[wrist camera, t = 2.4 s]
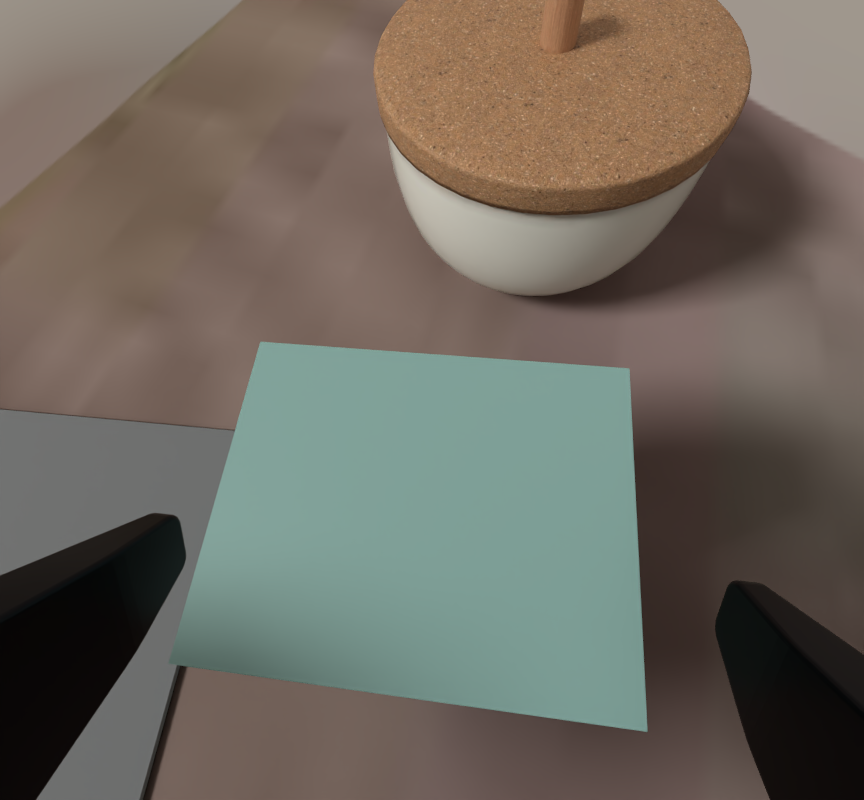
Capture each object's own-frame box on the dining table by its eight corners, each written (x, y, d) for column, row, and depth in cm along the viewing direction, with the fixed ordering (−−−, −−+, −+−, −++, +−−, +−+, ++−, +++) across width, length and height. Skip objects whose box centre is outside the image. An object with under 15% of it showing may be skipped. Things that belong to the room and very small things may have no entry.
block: (522, 648, 15) (648, 731, 5) (361, 627, 15) (167, 664, 5) (526, 516, 16) (629, 368, 6) (381, 501, 17) (260, 342, 7)
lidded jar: (354, 275, 21) (277, 40, 12) (478, 121, 24) (487, -150, 16) (587, 390, 18) (699, 192, 10) (691, 199, 21) (845, -77, 13)
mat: (131, 839, 14) (127, 842, 13) (-239, 772, 15) (-248, 775, 14) (244, 433, 18) (242, 431, 18) (-44, 407, 19) (-49, 405, 19)
